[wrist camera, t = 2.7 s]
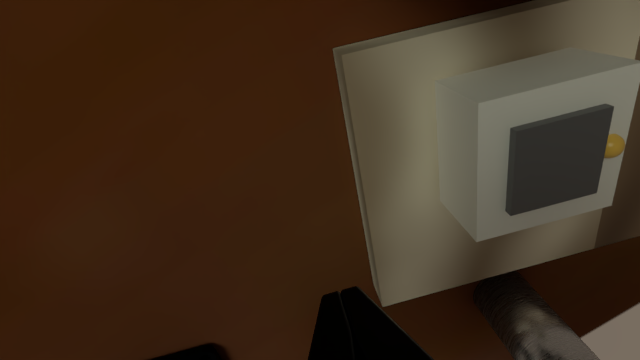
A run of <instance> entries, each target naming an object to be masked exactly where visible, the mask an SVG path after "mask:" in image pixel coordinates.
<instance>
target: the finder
mask: <svg viewBox="0 0 640 360" xmlns="http://www.w3.org/2000/svg"><path fill="white" fill-rule="evenodd" d="M639 84H640V61H639V60H634V59H628V58H623V57H618V56H613V55H608V54H603V53H597V52H592V51H587V50H582V49H577V48H572V47H570V48H565V49H561V50H557V51H553V52H549V53H545V54H541V55H537V56H533V57H529V58H525V59H521V60H517V61H513V62H509V63H505V64H501V65H497V66H493V67H488V68H484V69H480V70H476V71H472V72H468V73H464V74H460V75H456V76H452V77H448V78H444V79H440V80H436V81H435V98H436V121H437V143H438V165H439V188H440V201H441V202H442V204H443V205H444V206H445V207H446V208H447V209H448V210H449V212H450V213H451V214H452V215H453V216H454V217H455V218H456V220H457V221H458V222H459V223H460V224H461V225H462V226H463V227H464V229H465V230H466V231H467V232H468V233H469V234H470V235H471V237H472V238H473V239H474V240H475V241H476V242H479V241H483V240H487V239H490V238H494V237H498V236H501V235H505V234H509V233H512V232H516V231H520V230H523V229H527V228H531V227H535V226H538V225H542V224H546V223H549V222H553V221H557V220H560V219H564V218H568V217H571V216H575V215H579V214H582V213H586V212H590V211H594V210H597V209H601V208H605V207H608V206H612V202H613V197H614V193H615V189H616V184H617V180H618V176H619V171H620V167H621V162H622V158H623V154H624V149H625V145H626V141H627V136H628V132H629V127H630V123H631V119H632V114H633V110H634V106H635V101H636V97H637V92H638V88H639Z"/></svg>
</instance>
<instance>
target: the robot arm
mask: <svg viewBox="0 0 640 360" xmlns="http://www.w3.org/2000/svg"><path fill="white" fill-rule="evenodd" d="M153 360H221V358H220V356H219V354H218V352H217V350H216V349H215V348H214V347H213V346H210V345H205V346H200V347H197V348H193V349H189V350H186V351H182V352H179V353H175V354H171V355H168V356H164V357H160V358H157V359H153ZM308 360H434V359H433V358H432V357H431V356H430V355H429V354H428V353H427V352H425V351H424V350H423V349H422V348H421V347H420V346H419V345H418V344H417V343H416V342H415V341H414V340H413V339H412V338H411V337H410V336H409V335H408V334H407V333H406V332H405V331H404V330H403V329H402V328H401V327H400V326H399V325H397V324H396V323H395V322H394V321H393V320H392V319H391V318H390V317H389V316H388V315H387V314H386V313H385V312H384V311H383V310H382V309H381V308H380V307H379V306H378V305H377V304H376V303H375V302H374V301H373V300H372V299H371V298H369V297H368V296H367V295H366V294H365V293H364V292H363V291H362V290H361V289H360V288H359V287H357V286H355V287H351V288H347V289H344V290H342V291H341V294H340V292H338V291H336V292H333V293H329V294H325V295H323V296H322V299H321V303H320V307H319V312H318V316H317V321H316V325H315V330H314V334H313V338H312V343H311V347H310V352H309V356H308Z"/></svg>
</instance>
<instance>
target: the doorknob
mask: <svg viewBox="0 0 640 360" xmlns="http://www.w3.org/2000/svg"><path fill="white" fill-rule="evenodd" d="M473 300H474V303H475V304H476V306H477V307H478V309H479V310H480V311H481V313H482V314H483V316H484V317H485V319H486V320H487V321H488V323H489V324H490V326H491V327H492V328H493V330H494V331H495V333H496V334H497V336H498V337H499V338H500V340H501V341H502V343H503V344H504V345H505V347H506V348H507V350H508V351H509V353H510V354H511V355H512V357H513V358H514V360H600V359H599V358H598V357H597V356H596V355H595V354H594V353H593V352H592V351H591V350H590V349H589V348H588V346H586V344H585V343H584V342H583V341H582V340H581V339H580V338H579V337H578V336H577V335H576V334H575V333H574V331H573V330H572V329H571V328H570V327H569V326H568V325H567V324H566V323H565V322H564V321H563V320H562V319H561V317H560V316H559V315H558V314H557V313H556V312H555V311H554V310H553V309H552V308H551V307H550V306H549V305H548V304H547V302H546V301H545V300H544V299H543V298H542V297H541V296H540V295H539V294H538V293H537V292H536V291H535V290H534V289H533V287H532V286H531V285H530V284H529V283H528V282H527V281H526V280H525V279H524V278H523V277H522V276H521V275H520V274H519V273H518V272H516V271H511V272H507V273H504V274H500V275H497V276H493V277H489V278H486V279H483V280H482V281H481V282H480V283H479V285H478V286H477V287H476V289H475V291H474V295H473Z"/></svg>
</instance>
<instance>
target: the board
mask: <svg viewBox="0 0 640 360" xmlns="http://www.w3.org/2000/svg"><path fill="white" fill-rule="evenodd" d="M570 47H572V48H577V49H582V50H587V51H592V52H597V53H603V54H608V55H613V56H618V57H623V58H628V59H634V60H639V61H640V0H533V1H529V2H525V3H521V4H517V5H512V6H508V7H504V8H500V9H496V10H491V11H487V12H483V13H479V14H475V15H470V16H466V17H462V18H458V19H454V20H450V21H445V22H441V23H437V24H433V25H429V26H424V27H420V28H416V29H412V30H408V31H403V32H399V33H395V34H391V35H387V36H383V37H378V38H374V39H370V40H366V41H362V42H357V43H353V44H349V45H345V46H341V47H336V48H333V53H334V59H335V65H336V70H337V76H338V82H339V88H340V94H341V99H342V105H343V111H344V117H345V122H346V128H347V134H348V140H349V146H350V151H351V157H352V163H353V169H354V174H355V180H356V186H357V192H358V198H359V203H360V209H361V215H362V221H363V226H364V232H365V238H366V244H367V250H368V255H369V261H370V267H371V273H372V278H373V284H374V287H375V290H376V292H377V295H378V297H379V299H380V302H381V304H382V307H384V306H388V305H392V304H395V303H399V302H403V301H406V300H410V299H413V298H417V297H421V296H424V295H428V294H431V293H435V292H439V291H442V290H446V289H450V288H453V287H457V286H460V285H464V284H468V283H471V282H475V281H478V280H482V279H486V278H489V277H493V276H497V275H500V274H504V273H507V272H511V271H515V270H518V269H522V268H525V267H529V266H533V265H536V264H540V263H544V262H547V261H551V260H554V259H558V258H562V257H565V256H569V255H572V254H576V253H580V252H583V251H587V250H591V249H594V248H598V247H601V246H605V245H609V244H612V243H616V242H619V241H623V240H627V239H630V238H634V237H638V236H640V84H639V88H638V92H637V97H636V101H635V106H634V110H633V114H632V119H631V123H630V127H629V132H628V136H627V141H626V145H625V149H624V154H623V158H622V162H621V167H620V171H619V176H618V180H617V184H616V189H615V193H614V197H613V202H612V206H608V207H605V208H601V209H597V210H594V211H590V212H586V213H582V214H579V215H575V216H571V217H568V218H564V219H560V220H557V221H553V222H549V223H546V224H542V225H538V226H535V227H531V228H527V229H523V230H520V231H516V232H512V233H509V234H505V235H501V236H498V237H494V238H490V239H487V240H483V241H479V242H476V241H475V240H474V239H473V238H472V237H471V235H470V234H469V233H468V232H467V231H466V230H465V229H464V227H463V226H462V225H461V224H460V223H459V222H458V221H457V220H456V218H455V217H454V216H453V215H452V214H451V213H450V212H449V210H448V209H447V208H446V207H445V206H444V205H443V204H442V202H441V201H440V188H439V165H438V143H437V121H436V98H435V81H436V80H440V79H444V78H448V77H452V76H456V75H460V74H464V73H468V72H472V71H476V70H480V69H484V68H488V67H493V66H497V65H501V64H505V63H509V62H513V61H517V60H521V59H525V58H529V57H533V56H537V55H541V54H545V53H549V52H553V51H557V50H561V49H565V48H570Z"/></svg>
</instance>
